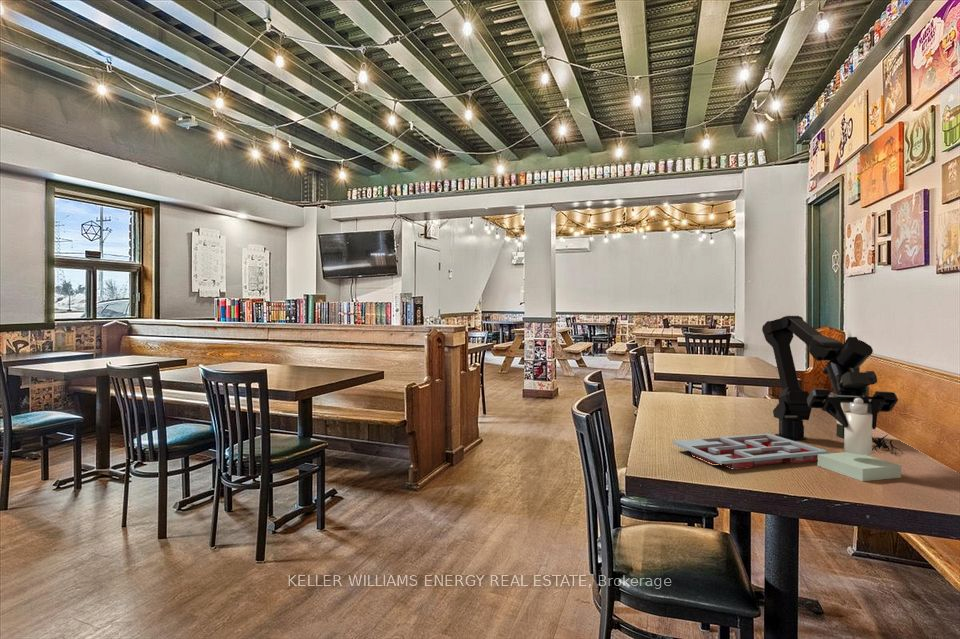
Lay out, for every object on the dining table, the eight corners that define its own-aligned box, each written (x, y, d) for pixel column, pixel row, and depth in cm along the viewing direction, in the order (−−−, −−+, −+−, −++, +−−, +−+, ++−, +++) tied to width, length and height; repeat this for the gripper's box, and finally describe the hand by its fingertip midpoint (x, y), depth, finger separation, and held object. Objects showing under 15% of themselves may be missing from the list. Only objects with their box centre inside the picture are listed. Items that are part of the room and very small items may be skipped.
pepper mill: (838, 449, 125) (839, 396, 125) (855, 447, 126) (856, 395, 126) (859, 455, 120) (860, 400, 119) (877, 454, 121) (878, 399, 121)
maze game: (768, 443, 151) (768, 433, 151) (827, 462, 132) (827, 451, 132) (672, 451, 142) (672, 441, 142) (721, 473, 123) (721, 461, 123)
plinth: (817, 465, 128) (817, 454, 127) (853, 462, 130) (853, 451, 130) (862, 481, 116) (862, 469, 116) (901, 477, 118) (901, 465, 118)
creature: (908, 460, 136) (888, 446, 144) (912, 443, 135) (891, 430, 142) (878, 459, 137) (860, 445, 144) (882, 442, 135) (863, 429, 143)
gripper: (811, 358, 129) (826, 407, 119) (895, 361, 123) (919, 412, 113) (800, 383, 137) (814, 431, 126) (879, 386, 131) (900, 436, 121)
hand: (860, 427), depth 122 cm, fingers closed on pepper mill, 6 cm apart
